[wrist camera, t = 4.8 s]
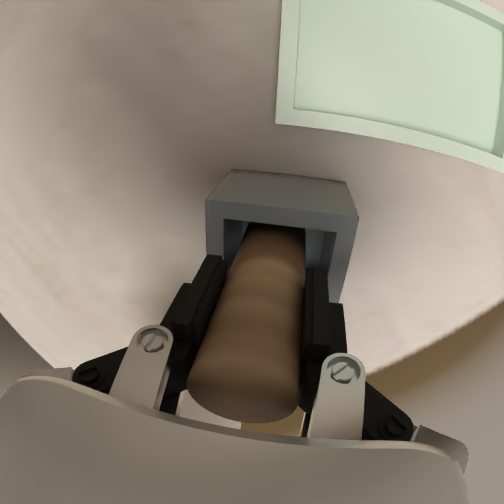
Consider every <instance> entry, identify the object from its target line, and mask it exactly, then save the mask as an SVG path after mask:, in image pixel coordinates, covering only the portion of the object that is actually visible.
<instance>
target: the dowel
mask: <svg viewBox="0 0 504 504" xmlns="http://www.w3.org/2000/svg"><path fill="white" fill-rule="evenodd" d="M305 261H306V230H305V228H299V227H291V226H283V225H275V224H266V223H258V222H249V223H248V226H247V228H246V231H245V233H244V236H243V238H242V241H241V243H240V246H239V248H238V251H237V253H236V256H235V258H234V261H233V263H232V266H231V268H230V271H229V273H228V276H227V279H226V281H225V284H224V286H223V289H222V291H221V294H220V296H219V299H218V301H217V304H216V307H215V309H214V312H213V314H212V317H211V319H210V322H209V325H208V327H207V330H206V332H205V335H204V337H203V340H202V343H201V345H200V348H199V350H198V353H197V355H196V358H195V361H194V363H193V366H192V368H191V371H190V374H189V376H188V379H187V384H186V385H187V390H188V392H189V394H190V396H191V397H192V398H193V399H194V400H195V401H196V402H197V403H198V404H199V405H200V406H202V407H203V408H204V409H206V410H208V411H209V412H211V413H213V414H215V415H218V416H220V417H223V418H226V419H229V420H233V421H238V422H245V423H269V422H274V421H278V420H281V419H283V418H286V417H287V416H289V415H290V414H292V413H293V412H294V410H295V409H296V407H297V404H298V394H299V382H300V352H301V336H302V318H303V297H304V285H305Z"/></svg>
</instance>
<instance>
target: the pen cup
mask: <svg viewBox="0 0 504 504" xmlns="http://www.w3.org/2000/svg"><path fill="white" fill-rule="evenodd" d="M205 215H206V251H207V254H212V255H220V256H222V259H223V260H226V261H227V276H228V273H229V271H230V268H231V266H232V263H233V261H234V258H235V256H236V253H237V251H238V248H239V246H240V243H241V241H242V238H243V236H244V233H245V231H246V228H247V226H248V223H249V222H258V223H266V224H275V225H283V226H291V227H299V228H305V230H306V261H305V279H306V273H307V270H310V271H312V269H313V267H316V268H324V269H327V276H328V290H329V302H332V303H338V302H339V299H340V295H341V291H342V288H343V284H344V280H345V276H346V272H347V268H348V264H349V260H350V256H351V252H352V248H353V243H354V239H355V235H356V230H357V225H358V221H359V216H358V213H357V211H356V208H355V205H354V203H353V200H352V197H351V195H350V192H349V190H348V187H347V185H346V182H341V181H334V180H327V179H320V178H312V177H304V176H296V175H287V174H278V173H269V172H258V171H247V170H235V169H232V170H231V171H230V172H229V174H228V175H227V176H226V177H225V178H224V179H223V180H222V181H221V182H220V183H219V185H218V186H217V187H216V188H215V189H214V190H213V191H212V192H211V193H210V195H209V196H208V197H207V198H206V199H205Z"/></svg>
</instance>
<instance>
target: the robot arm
mask: <svg viewBox="0 0 504 504" xmlns="http://www.w3.org/2000/svg"><path fill="white" fill-rule="evenodd" d="M226 279H227V261H226V260H223V259H222V256H220V255H212V254H207V256H206V258H205V259H204V261H203V263H202V265H201V267H200V269H199V271H198V272H197V274H196V276H195V278H194V280H193V282H192V284H190V283H183V285H182V286H181V288H180V290H179V291H178V293H177V295H176V297H175V299H174V300H173V302H172V304H171V306H170V307H169V309H168V311H167V313H166V315H165V317H164V318H163V320H162V322H161V324H160V325H149V326H145V327H143V328H141V329H139V330H138V331H137V332H136V333H135V334H134V336H133V337H132V339H131V342H130V344H129V346H128V347H126V348H123V349H120V350H118V351H115V352H112V353H109V354H106V355H104V356H101V357H98V358H95V359H92V360H90V361H87V362H84V363H82V364H80V365H79V366H78V367H77V368H76V369H75V370H73V369H72V368H71V367H68V368H56V369H41V370H31V371H28V372H26V373H25V374H23V376H22V377H21V379H19V380H17V381H16V382H15V383H13V384H12V385H11V386H10V387H9V388H8V389H7V391H6V392H5V393H4V394H3V396H2V397H1V398H0V504H469V501H468V493H467V487H466V482H465V478H464V475H463V474H464V471H465V467H466V464H467V461H468V450H467V448H466V446H465V445H464V444H463V443H462V442H460V441H458V440H456V439H453V438H451V437H448V436H446V435H443V434H441V433H438V432H436V431H434V430H431V429H429V428H427V427H424V426H422V425H419V426H418V427H417V426H414V425H413V423H412V421H411V419H410V418H409V417H408V416H407V415H406V414H405V413H404V412H403V411H402V410H400V409H399V408H398V407H397V406H395V405H394V404H393V403H392V402H390V401H389V400H388V399H387V398H386V397H384V396H383V395H382V394H381V393H379V392H378V391H377V390H376V389H375V388H373V387H372V386H371V385H370V384H368V383H367V382H366V381H365V367H364V365H363V364H362V362H361V361H360V360H359V359H358V358H356V357H355V356H353V355H351V354H347V342H346V331H345V320H344V311H343V305H342V304H341V303H332V302H329V290H328V276H327V269H324V268H316V267H313V269H312V271H310V270H307V273H306V279H305V285H304V297H303V318H302V336H301V352H300V382H299V394H298V406H299V407H300V408H301V409H302V410H303V411H304V412H305V413H304V417H303V421H302V426H301V431H300V435H299V437H293V436H284V435H276V434H268V433H261V432H254V431H247V430H241V429H236V428H230V427H225V426H220V425H215V424H210V423H205V422H201V421H196V420H192V419H188V418H184V417H180V416H179V414H180V410H181V406H182V401H183V397H184V390H187V385H186V384H187V379H188V376H189V374H190V371H191V368H192V366H193V363H194V361H195V358H196V355H197V353H198V350H199V348H200V345H201V343H202V340H203V337H204V335H205V332H206V330H207V327H208V325H209V322H210V319H211V317H212V314H213V312H214V309H215V307H216V304H217V301H218V299H219V296H220V294H221V291H222V289H223V286H224V284H225V281H226Z"/></svg>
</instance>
